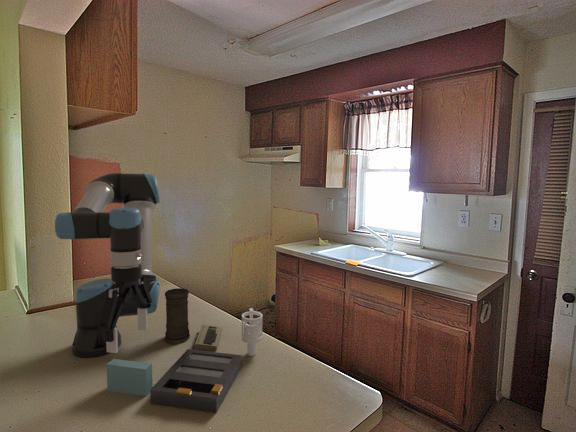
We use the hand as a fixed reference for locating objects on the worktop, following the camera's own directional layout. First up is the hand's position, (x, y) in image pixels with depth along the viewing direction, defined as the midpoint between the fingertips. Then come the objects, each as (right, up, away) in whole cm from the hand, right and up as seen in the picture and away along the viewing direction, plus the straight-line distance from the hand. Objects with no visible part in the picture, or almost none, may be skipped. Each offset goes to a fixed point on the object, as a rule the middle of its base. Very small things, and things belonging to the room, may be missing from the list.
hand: (128, 340), depth 97 cm
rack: (+18, -15, +6) cm, 24 cm away
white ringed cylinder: (+32, -13, +24) cm, 42 cm away
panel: (0, -15, +2) cm, 15 cm away
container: (+3, -11, +34) cm, 36 cm away
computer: (+15, -12, +33) cm, 38 cm away
